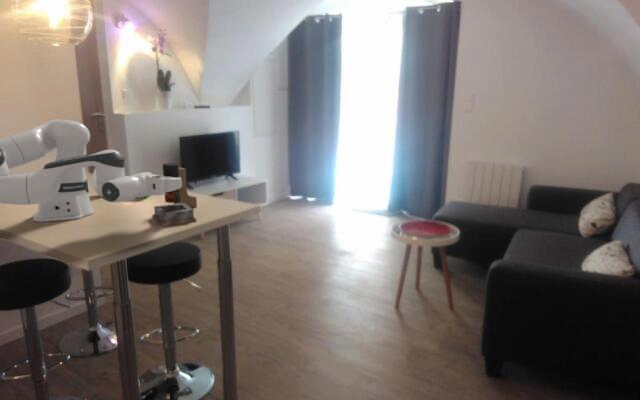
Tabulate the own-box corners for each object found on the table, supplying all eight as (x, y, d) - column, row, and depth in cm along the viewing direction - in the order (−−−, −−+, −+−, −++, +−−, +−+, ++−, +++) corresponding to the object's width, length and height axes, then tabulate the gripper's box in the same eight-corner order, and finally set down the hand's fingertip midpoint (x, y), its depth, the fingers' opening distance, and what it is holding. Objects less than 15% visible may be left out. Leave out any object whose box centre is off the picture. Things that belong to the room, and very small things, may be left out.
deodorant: (183, 200, 191) (181, 163, 187) (173, 203, 186) (171, 165, 182) (172, 198, 193) (169, 162, 189) (162, 201, 188) (159, 164, 184)
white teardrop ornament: (96, 198, 223) (92, 160, 219) (91, 195, 229) (87, 158, 225) (113, 195, 228) (110, 159, 224) (108, 193, 234) (104, 157, 230)
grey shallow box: (160, 226, 182) (159, 214, 181) (152, 217, 194) (151, 206, 192) (196, 221, 189) (195, 210, 188) (186, 212, 201) (186, 202, 199)
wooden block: (192, 204, 214) (189, 165, 209) (197, 206, 211) (195, 167, 206) (173, 208, 208) (171, 168, 203) (178, 210, 205) (176, 169, 200)
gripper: (127, 189, 182) (155, 182, 193) (165, 195, 172) (192, 188, 184) (125, 173, 180) (154, 167, 192) (164, 178, 171) (191, 172, 182)
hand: (173, 177), depth 188 cm, fingers closed on deodorant, 6 cm apart
